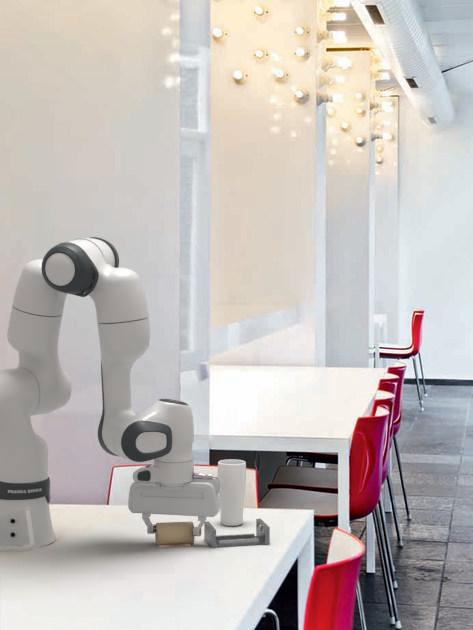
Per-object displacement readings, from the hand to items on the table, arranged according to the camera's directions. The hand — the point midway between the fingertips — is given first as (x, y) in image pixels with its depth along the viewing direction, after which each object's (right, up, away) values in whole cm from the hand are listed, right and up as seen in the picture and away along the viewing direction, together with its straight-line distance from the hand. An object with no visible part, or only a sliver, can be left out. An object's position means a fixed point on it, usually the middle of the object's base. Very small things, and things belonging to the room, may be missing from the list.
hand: (174, 534), depth 244 cm
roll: (0, 0, +1) cm, 1 cm away
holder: (+14, -3, +2) cm, 14 cm away
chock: (0, -3, 0) cm, 3 cm away
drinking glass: (+13, -2, +20) cm, 24 cm away
